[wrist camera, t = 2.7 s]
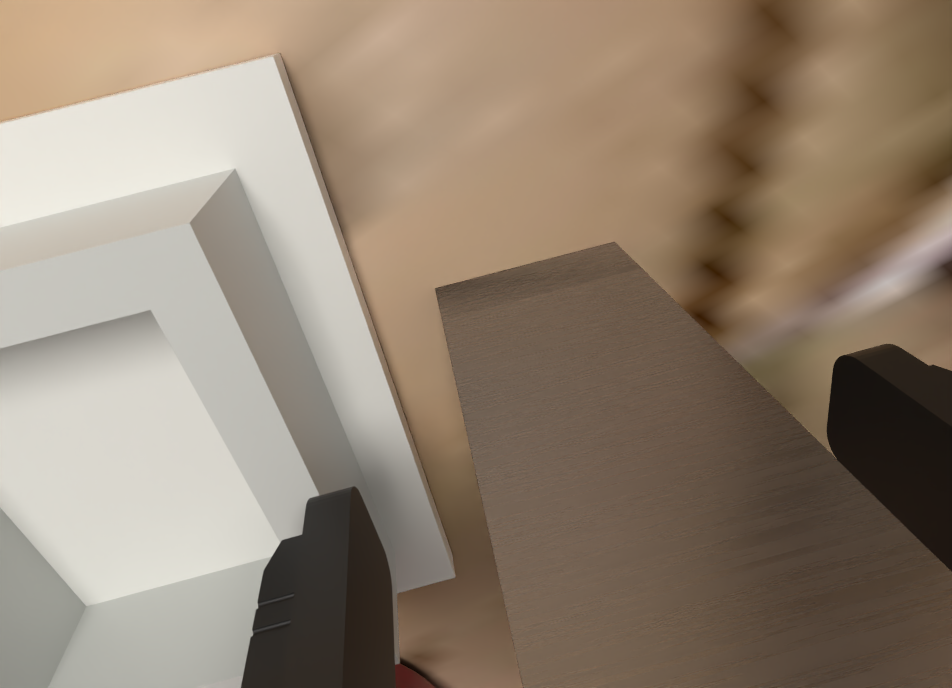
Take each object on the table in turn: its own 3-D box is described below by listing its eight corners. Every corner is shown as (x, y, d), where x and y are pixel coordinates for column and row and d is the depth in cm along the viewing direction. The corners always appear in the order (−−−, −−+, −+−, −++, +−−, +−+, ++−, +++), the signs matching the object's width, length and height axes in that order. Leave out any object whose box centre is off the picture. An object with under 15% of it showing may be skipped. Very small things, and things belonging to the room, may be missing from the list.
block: (434, 288, 13) (560, 863, 4) (614, 242, 13) (1094, 712, 4) (489, 488, 16) (628, 1059, 7) (634, 449, 16) (940, 967, 7)
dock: (-365, 213, 10) (-724, 313, 7) (279, 52, 10) (236, 74, 7) (66, 658, 17) (-9, 819, 13) (452, 553, 17) (471, 685, 14)
